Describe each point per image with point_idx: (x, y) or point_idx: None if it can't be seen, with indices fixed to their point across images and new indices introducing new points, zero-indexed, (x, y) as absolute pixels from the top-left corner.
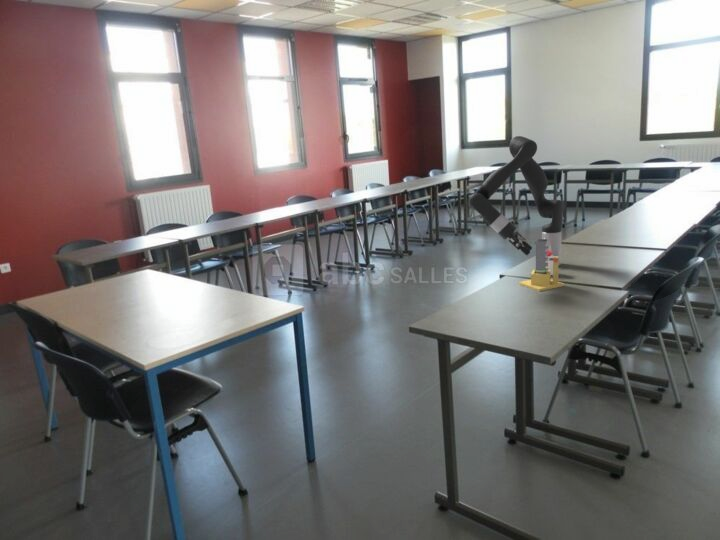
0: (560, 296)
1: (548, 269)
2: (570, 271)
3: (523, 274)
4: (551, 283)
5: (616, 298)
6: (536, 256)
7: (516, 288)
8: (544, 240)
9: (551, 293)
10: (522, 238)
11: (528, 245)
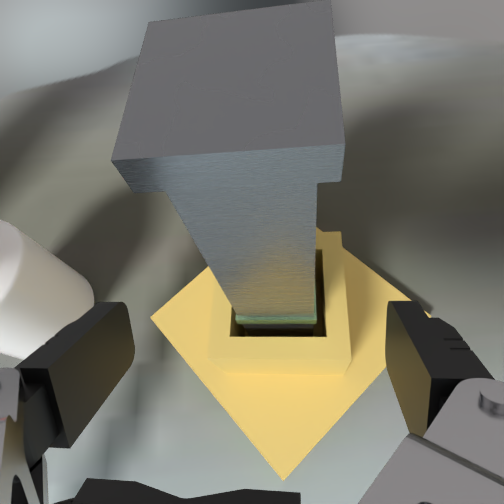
0: (489, 207)
1: (72, 279)
2: (27, 204)
3: None
4: None
5: (433, 39)
6: (313, 260)
7: None
8: (239, 34)
9: (448, 251)
10: (8, 457)
11: (91, 341)
